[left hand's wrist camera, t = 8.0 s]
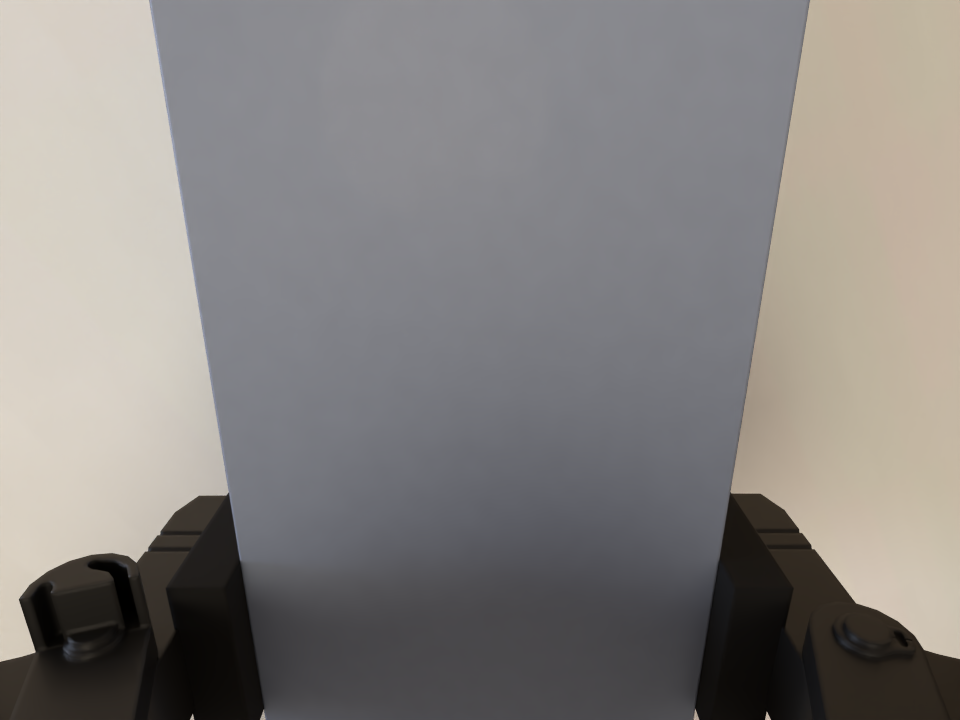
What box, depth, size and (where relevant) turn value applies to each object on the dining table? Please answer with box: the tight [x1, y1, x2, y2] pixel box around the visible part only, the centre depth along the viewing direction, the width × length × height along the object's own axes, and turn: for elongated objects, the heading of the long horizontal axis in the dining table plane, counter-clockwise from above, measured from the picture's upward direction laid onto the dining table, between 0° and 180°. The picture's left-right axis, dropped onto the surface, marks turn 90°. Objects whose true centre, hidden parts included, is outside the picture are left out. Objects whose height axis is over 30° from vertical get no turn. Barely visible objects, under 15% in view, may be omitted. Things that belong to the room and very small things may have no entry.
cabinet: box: [149, 0, 810, 720], centre depth 12 cm, size 18×6×10 cm, turn 0°
